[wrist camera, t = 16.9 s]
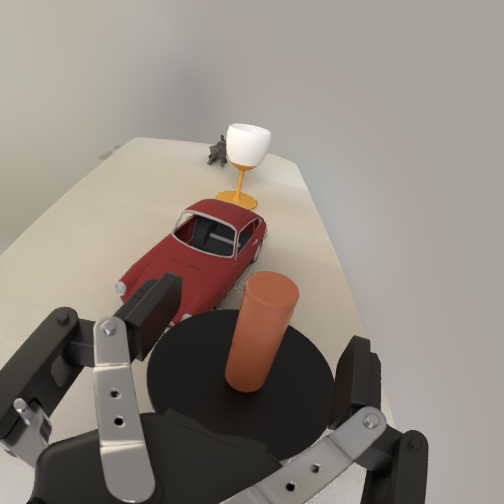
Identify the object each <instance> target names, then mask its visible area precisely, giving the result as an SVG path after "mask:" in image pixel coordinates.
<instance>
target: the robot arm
mask: <svg viewBox="0 0 504 504" xmlns="http://www.w3.org/2000/svg"><path fill="white" fill-rule="evenodd" d="M182 284H183V278H182V276H179V275H176V274H174V273H171V272H169V271H166V272H165V273H164V274H163V275H162V276H161V278H160V279H159V280H158V279H156V278H152V279H150V280H147V281H145V282H144V283H143V284H142V285H141V286H140V287H139V288H138V289H137V290H136V291H135V292H134V293H133V294H132V296H131V297H130V298H129V299H128V300H127V301H126V302H125V303H124V304H123V305H122V306H121V308H120V309H119V310H118V311H117V312H116V313H115V314H114V315H113V316H105V317H102V318H100V319H99V320H97V321H90V320H84V319H79V318H78V314H77V312H76V311H75V310H74V309H72V308H70V307H60V308H57V309H55V310H54V311H52V312H51V313H50V315H49V316H48V317H47V318H46V319H45V320H44V321H43V322H42V323H41V324H40V325H39V326H38V328H37V329H36V330H35V331H34V332H33V333H32V334H31V335H30V336H29V338H28V339H27V340H26V341H25V342H24V343H23V344H22V346H21V347H20V348H19V349H18V350H17V351H16V353H15V354H14V355H13V356H12V357H11V358H10V360H9V361H8V362H7V363H6V364H5V366H4V367H3V368H2V369H1V371H0V447H1V448H2V449H4V450H5V451H6V452H7V453H8V454H10V455H11V456H14V457H19V458H20V459H21V460H22V461H24V462H25V463H26V464H28V465H29V466H31V467H32V468H33V469H35V481H34V488H33V492H32V495H31V497H30V499H29V501H28V502H27V503H26V504H304V503H305V502H307V501H308V500H309V499H311V498H312V497H313V496H315V495H316V494H317V493H318V492H320V491H321V490H322V489H323V488H325V487H326V486H327V485H328V484H330V483H331V482H332V481H333V480H334V479H336V478H337V477H338V476H339V475H340V474H341V473H343V472H344V471H345V470H346V469H347V468H348V467H349V466H350V465H351V464H352V463H353V462H355V463H357V464H358V465H360V466H362V467H364V468H366V469H367V473H366V478H365V483H364V489H363V493H362V498H361V503H360V504H425V495H426V484H427V469H428V442H427V439H426V437H425V436H424V435H423V434H422V433H420V432H419V431H416V430H410V431H407V432H406V433H404V434H403V433H401V432H399V431H397V430H396V429H394V428H392V427H390V426H389V425H388V424H387V421H386V418H385V416H384V414H383V413H382V412H381V382H380V381H381V375H380V374H381V363H380V360H379V358H378V356H377V354H376V353H372V352H370V340H369V339H365V338H362V337H359V336H355V335H354V336H353V337H352V339H351V340H350V342H349V344H348V345H347V347H346V349H345V350H344V352H343V354H342V355H341V357H340V359H339V361H338V364H337V368H336V376H335V383H334V391H333V398H332V405H331V411H330V418H329V424H328V429H331V430H335V431H334V432H332V433H331V434H330V435H327V436H325V437H324V438H323V439H321V440H320V441H319V442H317V443H316V444H315V445H313V446H312V447H311V448H309V449H308V450H306V451H305V452H304V453H302V454H301V455H299V456H298V457H297V458H295V459H294V460H292V461H291V462H289V463H288V464H286V465H285V466H283V465H282V464H281V463H280V462H279V461H278V460H277V459H276V458H275V457H274V456H273V455H271V454H270V453H268V452H267V451H266V448H267V444H264V443H260V442H257V441H254V440H251V439H248V438H245V437H240V436H231V435H223V434H216V433H213V432H212V431H210V430H209V429H207V428H206V427H204V426H203V425H201V424H200V423H198V422H197V421H195V420H194V419H193V418H191V417H188V416H186V415H184V414H181V413H179V412H177V411H174V410H172V409H170V408H168V409H167V411H166V413H165V414H164V413H157V412H149V413H142V414H139V409H138V404H137V399H136V393H135V388H134V382H133V376H132V369H131V363H132V362H133V361H134V359H138V360H140V361H142V362H143V361H144V359H145V358H146V356H147V355H148V353H149V352H150V351H151V349H152V348H153V346H154V345H155V343H156V342H157V341H158V339H159V338H160V336H161V335H162V334H163V332H164V331H165V329H166V328H167V326H168V325H169V324H170V322H171V321H172V319H173V318H174V317H175V315H176V314H177V312H178V310H179V308H180V304H181V296H182ZM85 366H87V367H92V368H93V383H94V395H95V406H96V415H97V424H98V429H96V430H93V431H90V432H87V433H84V434H81V435H78V436H75V437H71V438H68V439H65V440H61V441H58V442H55V443H52V444H50V445H49V443H48V441H49V436H50V434H51V431H52V425H51V422H50V420H49V417H50V416H51V414H52V413H53V411H54V410H55V408H56V407H57V405H58V404H59V402H60V401H61V400H62V398H63V397H64V395H65V394H66V392H67V391H68V389H69V388H70V386H71V385H72V384H73V382H74V381H75V379H76V378H77V376H78V375H79V374H80V372H81V371H82V369H83V368H84V367H85Z"/></svg>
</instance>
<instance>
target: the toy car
mask: <svg viewBox="0 0 504 504" xmlns="http://www.w3.org/2000/svg"><path fill="white" fill-rule="evenodd" d="M186 212H188V213H193V215H192V216H189V217H190V218H189V217H187V219H188V218H189V219H188V220H186V221H185V222H184V223H183V224H181V225H180V226H179V227H178V228H177V226H178V224H179V222H180V220H181V218H182V216H183V214H184V213H186ZM266 232H267V228H266V223H265V222H264V219H263V218H262V217H260V216H259V215H257V214H255V213H254V212H252V211H250V210H247V209H246V208H243V207H241V206H239V205H238V206H237V205H236V204H233V203H229V202H225V201H222V200H221V201H220V200H216V199H205V200H201V201H199V202H197V203H195V204H193V205H192V206H190V207H188V208H187V209H185V210H184V211H183V212H182V213H181V215H180V217H179V219H178V221H177V223H176V225H175V227H174V229H173V231H172V233H170V234H169V235H168V236H167V237H165V238H164V239H163V240H162V241H161V242H159V243H158V244H157V245H156V246H155V247H153V248H152V249H151V250H150V251H149V252H148V253H146V254H145V255H144V256H143V257H142V258H141V259H139V260H138V261H137V262H136V263H135V264H134V265H133V266H132V267H131V268H130V269H129V270H128V271H127V272H126V273H125V275H124V276H123V277H122V278H121V279H120V280H119V281H118V282H117V284H116V285H115V288H116V291H117V293H118V294H119V295H120V297H121V299H122V300H123V302H124V303H125V302H126V301H127V300H128V299H129V298H130V297H131V296H132V294H133V293H134V292H135V291H136V290H137V289H138V288H139V287H140V286H141V285H142V284H143V283H144V282H145V281H147V280H150V279H152V278H156V279H158V280H159V279H160V278H161V276H162V275H163V274H164V273H165V272H166V271H169V272H171V273H174V274H176V275H179V276H182V278H183V284H182V296H181V304H180V308H179V310H178V312H177V314H176V315H175V317H174V318H173V319H172V321H171V322H170V324H169V325H168V326H167V328H166V329H165V331H164V333H166V332H167V331H168V330H169V329H170V328H172V327H173V326H174V325H176V324H177V323H179V322H181V321H182V320H184V319H186V318H189V317H191V316H193V315H196V314H200V313H203V312H208V311H213V310H215V309H216V307H217V306H218V304H219V303H220V302H221V300H222V299H223V298H224V297H225V295H226V294H227V293H228V291H229V290H230V289H231V287H232V286H233V285H234V284H235V282H236V281H237V279H238V278H239V277H240V275H241V274H242V272H243V271H244V270H245V268H246V267H247V265H248V264H249V263H254V262H255V261H256V260H257V257H258V255H259V252H260V250H261V246H262V242H263V237H264V239H265V238H266V236H267V234H266ZM123 302H122V301H121V300H120V301H119V305H120V306H122V305H123V304H124V303H123Z"/></svg>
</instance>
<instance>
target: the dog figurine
mask: <svg viewBox="0 0 504 504" xmlns="http://www.w3.org/2000/svg"><path fill="white" fill-rule="evenodd" d="M210 150H211V154H210V155H209V157H208V158H211V159H210V160H209V162H208V163H207V164H209V165H210V164H212V163H213V162H215V161H216V160H217V159H218V160H220V159H221V158H222V162H221V164H220V166H222V167H224V162H225V163H227V160H226V140H224V136H223V135H221V141H219V142H218V144H217V145H215V146H211V147H210ZM216 158H217V159H216Z"/></svg>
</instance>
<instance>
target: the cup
mask: <svg viewBox="0 0 504 504" xmlns="http://www.w3.org/2000/svg"><path fill="white" fill-rule="evenodd" d="M270 143H271V132H270V131H268V130H267V129H263V128H261V127H257V126H253V125H247V124H231V125H230V126H229V129H228V132H227V139H226V146H227V154H228V158H229V160H230V161H231V163H232V164H233V165H234V166H235V167H236V168H238V169H239V170H240V174H239V179H238V184H237V190H236V192H235V191H224V192H220V193H218V194H217V195H216V200H220V201H221V200H222V201H225V202H229V203H233V204H236V205H237V206H238V205H239V206H241V207H243V208H246V209H247V210H250V209H253V208H255V207H256V206H257V201H256V200H255V199H254V198H253V197H251V196H249V195H247V194H244V193H241V192H240V189H241V184H242V179H243V174H244V171H246V170H250V169H253V168H254V167H256V166H258V165H259V164H260V163H261V162H262V160H263V159H264V158H265V156H266V154H267V152H268V150H269V147H270Z"/></svg>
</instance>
